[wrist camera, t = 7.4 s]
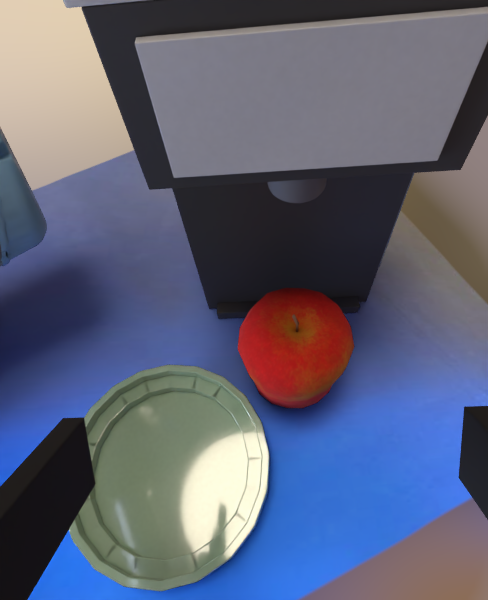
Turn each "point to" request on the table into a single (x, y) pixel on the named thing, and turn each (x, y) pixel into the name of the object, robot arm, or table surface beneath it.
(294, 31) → the coffee maker
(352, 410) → the table surface
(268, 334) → the apple
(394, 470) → the table surface
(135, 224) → the table surface
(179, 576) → the dish
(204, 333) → the table surface
